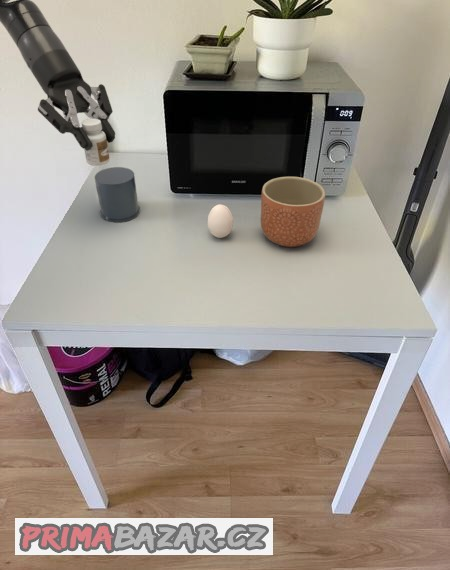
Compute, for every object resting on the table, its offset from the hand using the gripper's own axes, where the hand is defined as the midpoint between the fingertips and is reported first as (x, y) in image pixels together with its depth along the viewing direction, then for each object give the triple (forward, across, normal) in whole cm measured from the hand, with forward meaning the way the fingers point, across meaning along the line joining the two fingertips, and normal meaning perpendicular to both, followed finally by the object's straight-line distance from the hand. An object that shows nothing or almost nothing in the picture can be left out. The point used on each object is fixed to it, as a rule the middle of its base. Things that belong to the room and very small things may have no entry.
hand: (101, 143), depth 82 cm
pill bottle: (+2, 0, +4) cm, 5 cm away
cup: (+10, +6, +18) cm, 21 cm away
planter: (+34, +23, -7) cm, 41 cm away
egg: (+26, +13, +1) cm, 30 cm away
